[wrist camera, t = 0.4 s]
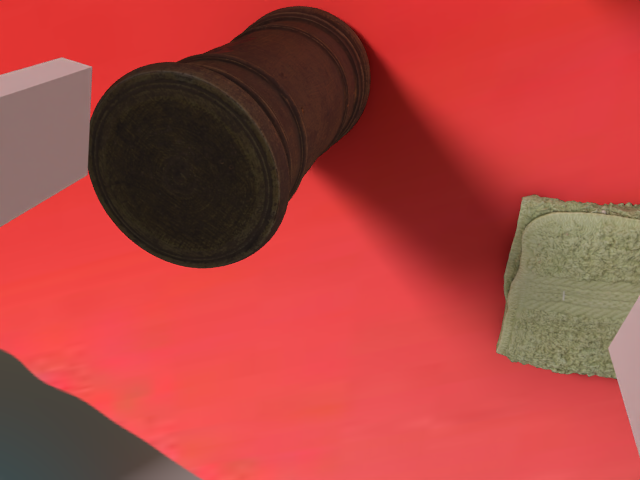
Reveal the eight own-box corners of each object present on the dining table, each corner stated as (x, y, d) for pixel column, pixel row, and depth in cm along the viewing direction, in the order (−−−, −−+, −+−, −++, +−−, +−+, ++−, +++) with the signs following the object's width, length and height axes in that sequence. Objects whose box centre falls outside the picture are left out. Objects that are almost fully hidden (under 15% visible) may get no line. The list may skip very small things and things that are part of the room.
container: (387, 25, 36) (312, 95, 21) (352, 162, 41) (268, 304, 25) (247, -13, 37) (74, 27, 22) (227, 125, 42) (72, 240, 26)
